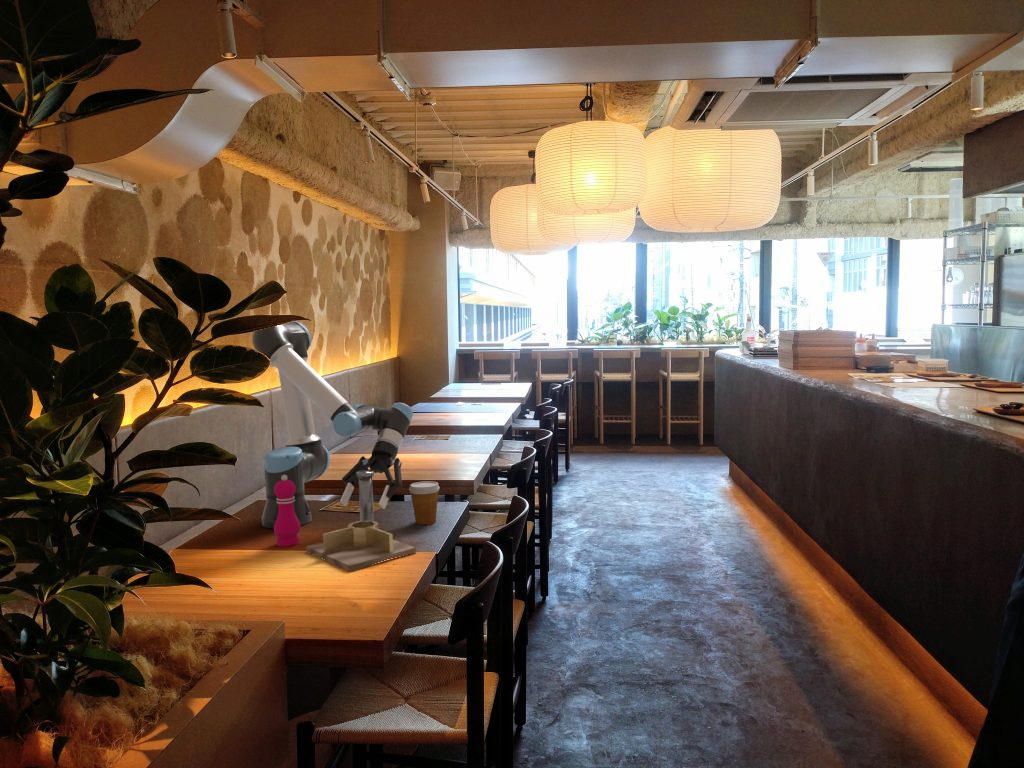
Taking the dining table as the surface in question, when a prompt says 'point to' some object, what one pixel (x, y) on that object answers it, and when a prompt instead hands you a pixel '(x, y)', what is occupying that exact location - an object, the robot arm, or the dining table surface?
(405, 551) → the mounting board
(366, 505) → the pin
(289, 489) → the pepper mill
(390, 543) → the beige ribbed socket
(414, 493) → the disposable coffee cup
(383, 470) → the robot arm
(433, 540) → the dining table surface
